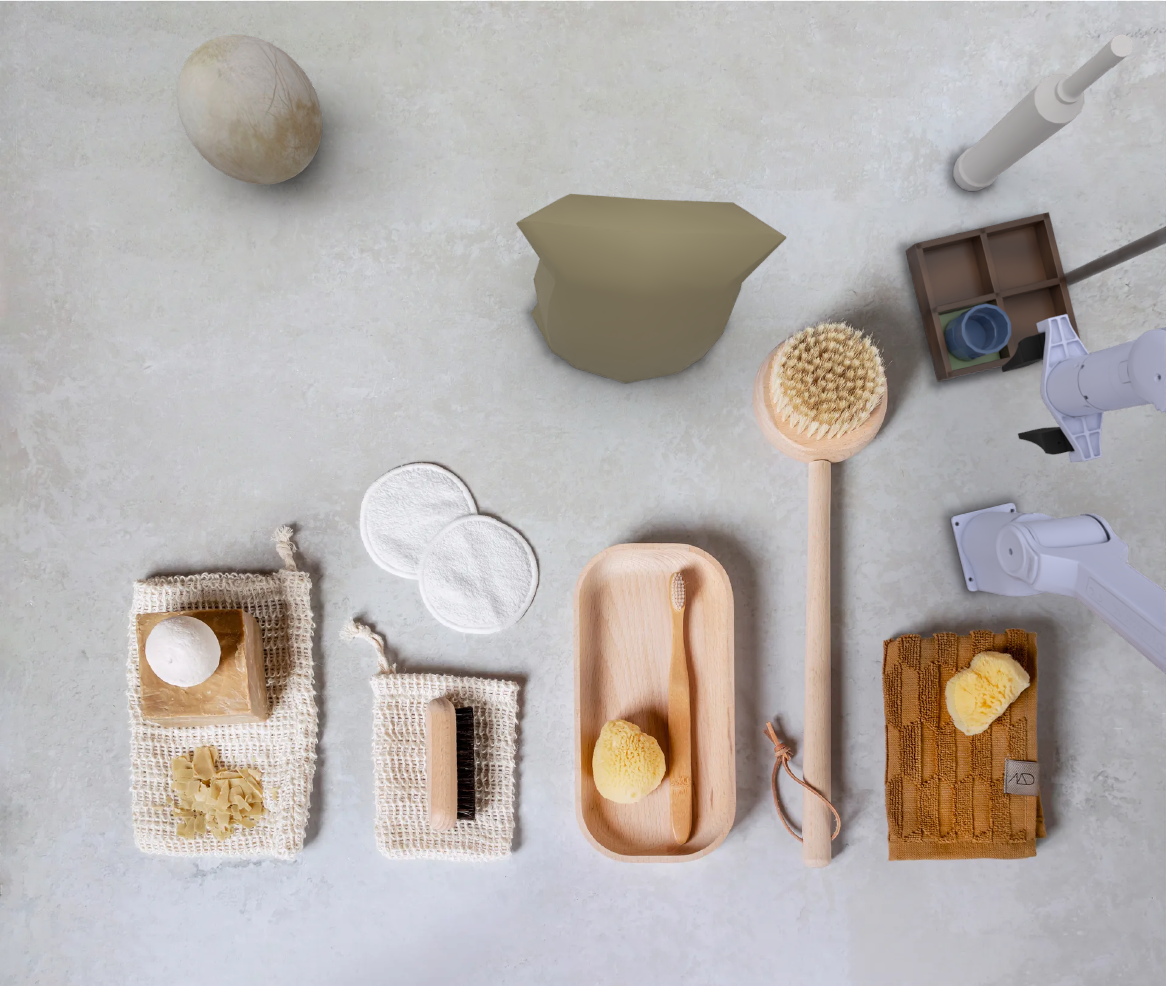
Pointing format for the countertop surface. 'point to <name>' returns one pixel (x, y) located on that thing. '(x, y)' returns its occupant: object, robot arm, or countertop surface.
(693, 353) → the container
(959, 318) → the cup
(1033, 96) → the bottle
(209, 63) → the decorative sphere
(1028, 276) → the tray
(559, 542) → the countertop surface
